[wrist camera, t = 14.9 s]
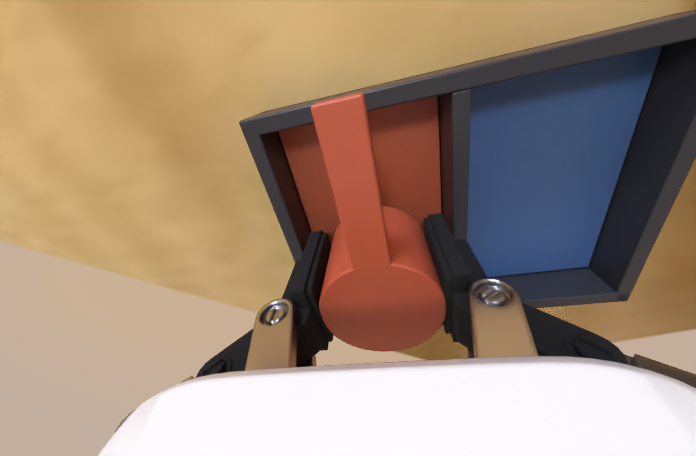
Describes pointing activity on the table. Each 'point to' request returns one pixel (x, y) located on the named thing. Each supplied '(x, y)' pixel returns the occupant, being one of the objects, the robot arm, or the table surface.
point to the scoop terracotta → (371, 245)
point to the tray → (518, 157)
